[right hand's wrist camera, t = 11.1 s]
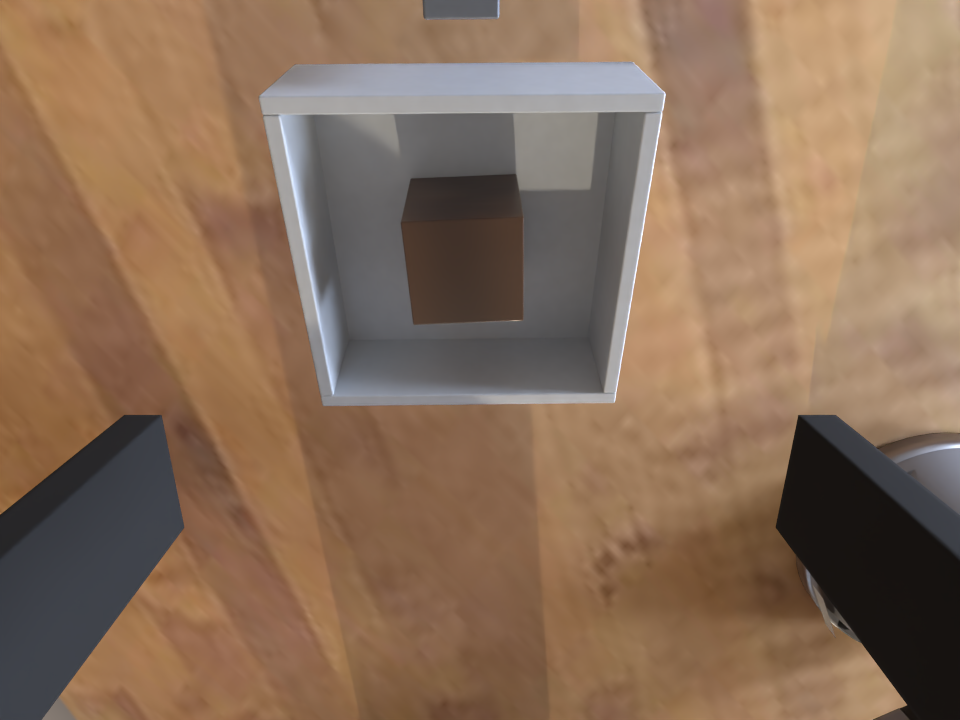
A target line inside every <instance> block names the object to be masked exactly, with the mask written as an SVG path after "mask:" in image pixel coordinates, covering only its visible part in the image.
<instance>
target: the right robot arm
mask: <svg viewBox="0 0 960 720" xmlns="http://www.w3.org/2000/svg"><path fill="white" fill-rule="evenodd" d="M183 529H184V524H183V519H182V514H181V509H180V504H179V499H178V494H177V489H176V484H175V479H174V474H173V469H172V464H171V460H170V455H169V450H168V445H167V440H166V435H165V430H164V425H163V420H162V415H124V416H123V417H121V418H120V419H119V420H118V421H116V422H115V423H114V424H113V425H111V426H110V427H109V428H108V429H106V430H105V431H104V432H103V433H101V434H100V435H99V436H98V437H97V438H95V439H94V440H93V441H92V442H90V443H89V444H88V445H87V446H85V447H84V448H83V449H82V450H80V451H79V452H78V453H77V454H75V455H74V456H73V457H72V458H70V459H69V460H68V461H67V462H65V463H64V464H63V465H62V466H60V467H59V468H58V469H57V470H55V471H54V472H53V473H52V474H51V475H49V476H48V477H47V478H46V479H44V480H43V481H42V482H41V483H39V484H38V485H37V486H36V487H34V488H33V489H32V490H31V491H29V492H28V493H27V494H26V495H24V496H23V497H22V498H21V499H19V500H18V501H17V502H16V503H14V504H13V505H12V506H11V507H9V508H8V509H7V510H6V511H5V512H3V513H2V514H1V515H0V720H42V718H43V717H44V716H45V714H46V713H47V712H48V710H49V709H50V708H51V706H52V705H53V704H54V702H55V701H56V700H57V698H58V697H59V696H60V694H61V693H62V692H63V690H64V689H65V687H66V686H67V685H68V683H69V682H70V681H71V679H72V678H73V677H74V675H75V674H76V673H77V671H78V670H79V669H80V667H81V666H82V665H83V663H84V662H85V661H86V659H87V658H88V656H89V655H90V654H91V652H92V651H93V650H94V648H95V647H96V646H97V644H98V643H99V642H100V640H101V639H102V638H103V636H104V635H105V634H106V632H107V631H108V630H109V628H110V627H111V625H112V624H113V623H114V621H115V620H116V619H117V617H118V616H119V615H120V613H121V612H122V611H123V609H124V608H125V607H126V605H127V604H128V603H129V601H130V600H131V599H132V597H133V596H134V595H135V593H136V592H137V590H138V589H139V588H140V586H141V585H142V584H143V582H144V581H145V580H146V578H147V577H148V576H149V574H150V573H151V572H152V570H153V569H154V568H155V566H156V565H157V564H158V562H159V561H160V559H161V558H162V557H163V555H164V554H165V553H166V551H167V550H168V549H169V547H170V546H171V545H172V543H173V542H174V541H175V539H176V538H177V537H178V535H179V534H180V533H181V531H182V530H183ZM776 529H777V530H778V531H779V533H780V534H781V535H782V537H783V538H784V539H785V541H786V542H787V543H788V545H789V546H790V547H791V549H792V550H793V551H794V553H795V554H796V563H797V569H798V573H799V576H800V579H801V582H802V584H803V585H804V587H805V589H806V591H807V592H808V594H809V595H810V596H811V598H812V599H813V601H814V602H815V603H816V605H817V606H818V608H819V609H820V611H821V612H822V615H823V618H824V621H825V624H826V625H827V627H828V628H829V629H830V631H831V632H832V634H833V635H834V637H835V634H834V631H833V628H832V625H831V623H832V624H833V625H835V626H836V627H837V628H839V629H840V630H841V631H842V632H844V633H845V634H847V635H848V636H850V637H851V638H853V639H855V640H856V641H858V642H860V643H862V644H863V646H864V647H865V648H866V650H867V651H868V652H869V654H870V655H871V656H872V658H873V659H874V661H875V662H876V663H877V665H878V666H879V667H880V669H881V670H882V671H883V673H884V674H885V675H886V677H887V678H888V679H889V681H890V682H891V683H892V685H893V686H894V687H895V689H896V690H897V692H898V693H899V694H900V696H901V697H902V698H903V700H904V701H905V702H906V704H907V706H905V707H902V708H900V709H896V710H894V711H892V712H889V713H887V714H885V715H882V716H880V717H878V718H875V719H873V720H960V433H932V434H925V435H919V436H914V437H910V438H906V439H902V440H899V441H896V442H893V443H891V444H888V445H885V446H883V447H881V448H879V449H877V448H876V447H875V446H873V445H872V444H871V443H870V442H868V441H867V440H866V439H865V438H863V437H862V436H861V435H860V434H859V433H857V432H856V431H855V430H854V429H852V428H851V427H850V426H849V425H847V424H846V423H845V422H844V421H842V420H841V419H840V418H839V417H837V416H836V415H798V420H797V425H796V430H795V435H794V440H793V445H792V450H791V455H790V460H789V464H788V469H787V474H786V479H785V484H784V489H783V494H782V499H781V504H780V509H779V514H778V519H777V524H776ZM835 638H836V637H835Z"/></svg>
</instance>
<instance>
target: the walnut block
mask: <svg viewBox="0 0 960 720" xmlns="http://www.w3.org/2000/svg"><path fill="white" fill-rule="evenodd" d="M401 230H402V238H403V246H404V254H405V263H406V271H407V279H408V287H409V295H410V303H411V311H412V319H413V324H414V325H425V324H451V323H477V322H503V321H523V319H524V215H523V209H522V203H521V198H520V192H519V186H518V180H517V175H516V174H505V175H481V176H458V177H434V178H411V179H410V183H409V188H408V192H407V197H406V201H405V206H404V210H403V214H402V219H401Z"/></svg>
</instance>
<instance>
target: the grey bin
mask: <svg viewBox="0 0 960 720" xmlns="http://www.w3.org/2000/svg"><path fill="white" fill-rule="evenodd" d="M423 15H424V19H426V20H427V19H498V18H499V0H423ZM664 100H665V92H663V91H662V90H661V89H660V88H659V87H658V86H657V85H656V84H655V83H654V82H653V81H652V80H651V79H650V78H649V77H648V76H647V75H646V74H645V73H644V72H643V71H642V70H641V69H640V68H639V67H637V66H636V65H635V64H634V63H633V62H555V63H419V64H295V65H293V66H292V67H291V68H290V69H289V70H288V71H287V72H286V73H285V74H283V75H282V76H281V77H280V78H279V79H278V80H277V81H276V82H274V83H273V84H272V85H271V86H270V87H269V88H268V89H267V90H265V91H264V92H263V93H262V94H261V95H260V96H259V101H260V106H261V111H262V114H263V120H264V125H265V130H266V135H267V140H268V144H269V149H270V154H271V159H272V164H273V169H274V173H275V178H276V183H277V188H278V193H279V198H280V202H281V207H282V212H283V217H284V222H285V226H286V231H287V236H288V241H289V246H290V251H291V255H292V260H293V265H294V270H295V275H296V279H297V284H298V289H299V294H300V299H301V304H302V308H303V313H304V318H305V323H306V328H307V333H308V337H309V342H310V347H311V352H312V357H313V361H314V366H315V371H316V376H317V381H318V386H319V390H320V395H321V400H322V405H323V406H367V405H461V404H554V403H614V402H615V397H616V390H617V384H618V378H619V372H620V366H621V360H622V354H623V348H624V342H625V336H626V330H627V324H628V318H629V312H630V306H631V300H632V294H633V288H634V282H635V276H636V269H637V263H638V257H639V251H640V245H641V239H642V233H643V227H644V221H645V215H646V209H647V203H648V197H649V191H650V185H651V179H652V173H653V167H654V161H655V155H656V149H657V142H658V136H659V130H660V124H661V118H662V112H661V111H663V107H664ZM505 174H516V175H517V180H518V186H519V192H520V198H521V203H522V209H523V215H524V319H523V321H503V322H477V323H451V324H425V325H414V324H413V319H412V311H411V303H410V295H409V287H408V279H407V271H406V263H405V254H404V246H403V238H402V230H401V219H402V214H403V210H404V206H405V201H406V197H407V192H408V188H409V183H410V179H411V178H434V177H458V176H481V175H505Z"/></svg>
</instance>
